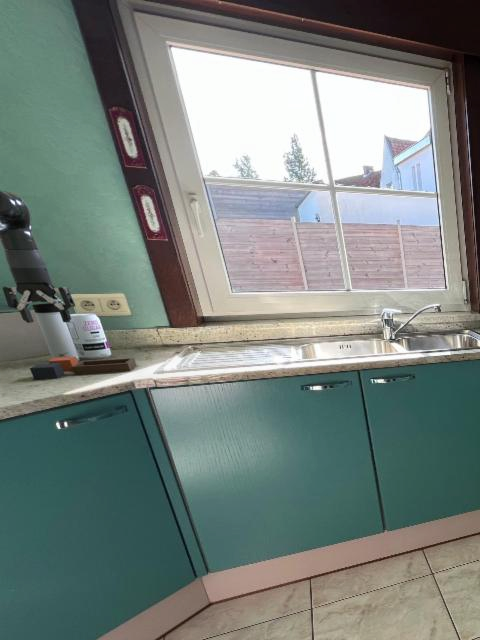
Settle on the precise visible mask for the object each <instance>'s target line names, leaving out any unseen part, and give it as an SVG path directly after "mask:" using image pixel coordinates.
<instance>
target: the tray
mask: <svg viewBox="0 0 480 640" xmlns="http://www.w3.org/2000/svg"><path fill="white" fill-rule="evenodd" d="M135 367H137V363H136V360H135V358H134V357H129V358H113V359H112V358H111V359H92V360H80V361H78V363H77V364H76V365H74V366H72V369H73V371H72V372H73V374H74V376H78V375H79V376H81V375H93V374H94V375H95V374H108V373H109V374H110V373H123V372H131V371H132V370H134V369H135Z"/></svg>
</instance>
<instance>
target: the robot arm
mask: <svg viewBox="0 0 480 640" xmlns="http://www.w3.org/2000/svg"><path fill="white" fill-rule="evenodd" d="M0 246H1V248H2V249H3V250H2V251H3V254H4V259H5V261H6V264H7V266H8V270H9V272H10V274H11V277H12V279H13V282H14V283H15V285H16V286H14V287H13V286H10V285H8V286H3V287H2V291H3V294H4V298H5V301H6V304H7V307H8V308H10V309H15V310H17V311H19V314H20V316H21V319H22V320H23V321H25V322H26V323H27V324H31V323H34V322H35V320H34V318H33V315H32V313H31V310H30V309H29V307H30V306H31V305H32V303H37V302H40V303H51V304H53V305H55V306H56V307H58V308H59V309H60V310H59V312H60V315H61V317H62V320H63V322H66V323H67V322H70V320H71V316H70V314H71V313H70V310H69V309H70V308H71V309H72V308H75V307H76V303H75V301H74V298H73V296H72V294H71V292H70V290H69V287H67V286H61V287H55V286H54V284H53V283H52V279H51V276H50V273H49V271H48V268H47V263H46V262H45V259H44V257H43V255H42V254H41V252H40V250H39V247H38V244H37V241H36V239H35V236H34V233H33V223H32V217H31V212H30V209H29V207H28V205H27V203H26V202H25V201H24V200H23V199H22V198H21V197H20V196H19V195H18V194H16V193H13V192H11V191H5V190H0ZM18 293H19V294H20V295H21V298H20V299H19V301H18V297H17V294H18ZM56 293H57V294H58V295H60V297H61V298H62V299H60V298H59V297H58V296H57V295H56Z"/></svg>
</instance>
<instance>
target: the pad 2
mask: <svg viewBox="0 0 480 640" xmlns="http://www.w3.org/2000/svg"><path fill="white" fill-rule="evenodd" d="M47 363H48V364H54V363H60V364H61V367H62V369H63V372H74V371H73V369H72V366H74V365H76V364H77V363H79V361H77V358H76V356H75V357H57V358H51V359H49V360H47Z"/></svg>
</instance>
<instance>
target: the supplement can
mask: <svg viewBox="0 0 480 640" xmlns="http://www.w3.org/2000/svg"><path fill="white" fill-rule="evenodd" d="M70 316H71V320H70V322H66V324H67V326H68V329H69V332H70V334H71V337H72V340H73V343H74V345H75V348H76V351H77V353H78V357H79V358H82V360H102V359H107V358H109V357H111V355H112V352H111V349H110V346H109V343H108V339H107V337H106V334H105V331H104V327H103V326H102V322H101V319H100V318H99V317H98V316H97V315H96V313H91V312H90V313H86V312H85V313H70Z"/></svg>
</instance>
